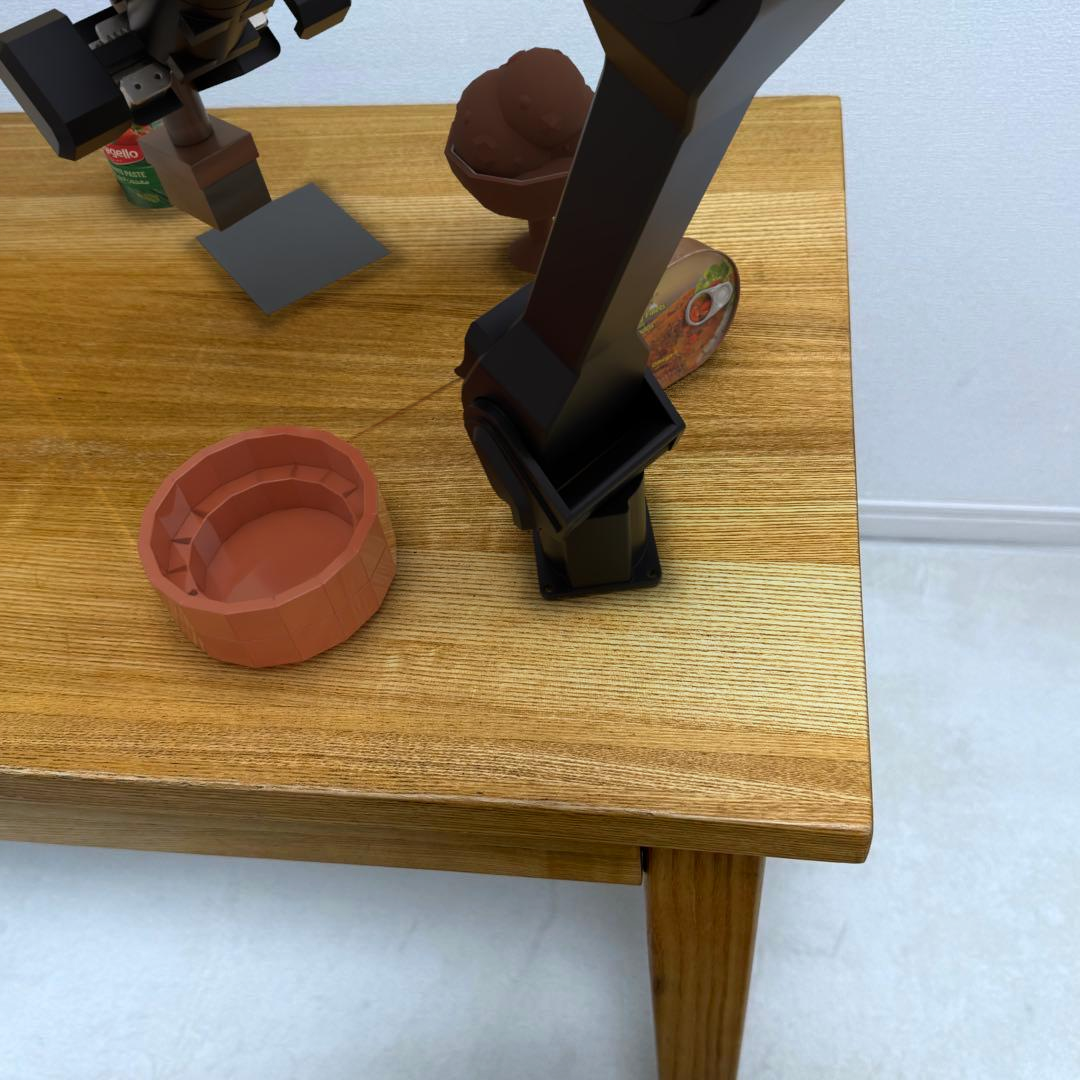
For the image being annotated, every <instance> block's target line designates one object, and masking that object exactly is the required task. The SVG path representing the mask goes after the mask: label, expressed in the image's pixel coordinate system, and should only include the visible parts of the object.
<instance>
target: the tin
mask: <svg viewBox="0 0 1080 1080" xmlns="http://www.w3.org/2000/svg"><path fill="white" fill-rule="evenodd" d="M740 298H741V278H740V273H739V269H738V267H737V265H736V263H735V261H734V260H733V259H732V257H730V256H729V255H728V254H727V253H725V252H723V251H721V250H720V249H719V250H718V249H715V248H713V247H712V246H709V245H708V244H706V243H704V242H702V241H700V240H698V239H696V238H692V237H686V236H683V237H682V239H681V241H680V243H679V245H678V247H677V249H676V251H675V253H674V255H673V257H672V259H671V261H670V263H669V265H668V267H667V269H666V271H665V273H664V275H663V276H662V278H661V280H660V282H659V284H658V286H657V288H656V290H655V292H654V294H653V296H652V298H651V300H650V302H649V304H648V306H647V308H646V310H645V312H644V314H643V316H642V318H641V320H640V322H639V324H638V328H637V329H638V330H639V332H640V333H641V335H642V336H643V338H644V340H645V341H646V343H647V344H648V346H649V358H648V362H647V366H648V367H649V369H650V370H651V372H652V373H653V375H654V376H655V378H656V379H657V381H658V382H659V384H660V386H661V387H662V389H663V390H665V389H666V388H668V387H670V386H671V385H673V384H674V383H677V382H678V381H679V380H682V379H683V378H684V377H686V376H687V375H689V374H691V373H692V372H694V371H695V370H697V369H698V368H699V367H701V366H703V364H704V363H706V361H707V360H709V358H711V356H712V355H713V354H714V353H715V352H716V350H717V349H718V348H719V347H720V346H721V344H722V342H723V341H724V339H725V338H726V336H727V334H728V332H729V330H730V329H731V327H732V325H733V322H734V319H735V317H736V313H737V310H738V307H739V303H740Z"/></svg>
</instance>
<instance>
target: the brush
mask: <svg viewBox="0 0 1080 1080" xmlns="http://www.w3.org/2000/svg"><path fill="white" fill-rule="evenodd" d="M109 3H110V6H114V8H115V9H116V10H117V12H118V13H122V12H124V11H126V10H128V8H127V7H126V5H125V4H124V2H123V1H122V2H120V3H118V4H114V3H113V2H112V1H111V0H109ZM171 76H172V82H171V88H172V89H173V91H174V92H175V94H176V95H177V96H178V98H179V99H180V101H181V102H182V103H183V107H182V108H180V109H178V110H176V111H174V112H172V113H171V114H169V115H167V116H165V117H163V118H161V119H162V121H163V125H161V126H160V127H158V128H156V129H154V130H152V131H151V132H149V133H147V134H145V135H143V136H141V137H140V138H138V139H137V142H138V144H139V146H140V148H141V151H142V153H143V155H144V157H145V159H146V161H147V163H149V164H151V165H153V167H154V169H155V171H156V173H157V175H158V177H159V180H160V182H161V184H162V186H163V188H164V190H165V193H166V195H167V197H168V199H169V201H170V203H171V205H173V206H174V207H175V208H176V209H178V210H181V211H182V212H184V213H185V214H188V215H189V216H191V217H193V218H195V219H197V220H198V221H200V222H202V223H204V224H205V225H207V226H209V227H210V228H211V227H212V229H213V228H215V229H217V230H218V231H220V232H222V231H224V230H225V229H227V228H229V227H230V226H232V225H233V224H235V223H237V222H238V221H240V220H242V219H243V218H245V217H247V216H248V215H250V214H251V213H253V212H255V211H256V210H258V209H260V208H261V207H263V206H265V205H266V204H268V203H270V202H271V201H273V199H272V198H271V194H270V191H269V189H268V186H267V184H266V181H265V178H264V176H263V173H262V171H261V168H260V165H259V163H258V161H257V159H258V158H259V157H260V152H259V150H258V148H257V145H256V142H255V140H254V138H253V137H254V136H253V135H252V133H251V131H249V130H246V129H244V128H242V127H240V126H237V125H235V124H232V123H230V122H228V121H226V120H224V119H221V118H220V117H217V116H215V115H212V114H211V113H208V112H207V109H206V107H205V104H204V102H203V100H202V96H201V94H200V92H198V90H197V87H196V85H195V82H194V80H193V79H192V80H190V81H189V82H187V83H185V84H183V85H182V84H181V83H180V82H179V80H178V79H177V77H176V76H175V75H174V73H173V72H172V73H171Z"/></svg>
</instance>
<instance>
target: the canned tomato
mask: <svg viewBox="0 0 1080 1080" xmlns="http://www.w3.org/2000/svg"><path fill="white" fill-rule="evenodd" d="M161 125H163V121H162V119H159V120H157V121H155V122H153V123H151V124H150V125H148V126H145V127H136V126H134V125H133V124H132V127H131V128H130V129H128V130H127V131H126V132H125V133H124V134H123V135H122V136H121V137H120V138H119V139H117V140H115V141H114V142H112V143H110V144H108V145H106V146H104V147H102V148H101V149H102V150H103V153H104V155H105V157H106V159H107V162H108V164H109V165H110V167H111V170H112V172H113V174H114V176H115V178H116V181H117V184H118V185H119V187H120V189H121V191H122V193H123V195H124V197H125V199H126V200H127V201H128V202H129V203H130V204H132V205H133V206H135V207H138V208H143V209H148V210H149V209H150V210H151V209H154V210H160V209H168V208H174V207H175V206H173V205H171V203H170V201H169V199H168V197H167V195H166V193H165V190H164V188H163V186H162V184H161V182H160V180H159V177H158V175H157V173H156V171H155V169H154V167H153V165H151V164H149V163H147V161H146V159H145V157H144V155H143V153H142V151H141V148H140V146H139V144H138V142H137V139H138V138H140V137H141V136H143V135H145V134H147V133H149V132H151V131H152V130H154V129H156V128H158V127H160V126H161Z"/></svg>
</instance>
